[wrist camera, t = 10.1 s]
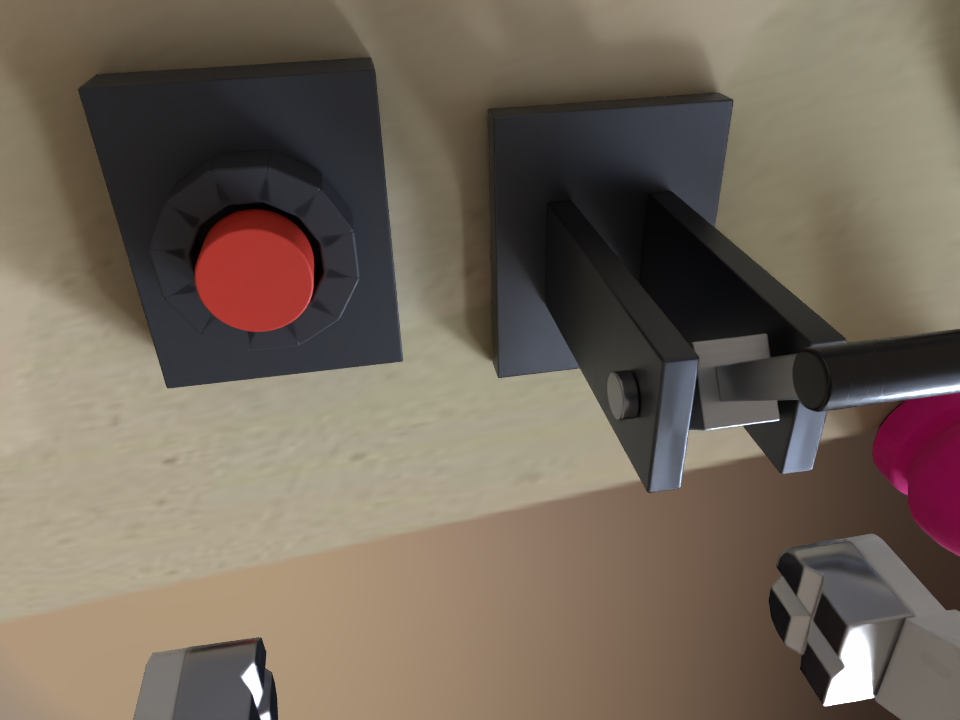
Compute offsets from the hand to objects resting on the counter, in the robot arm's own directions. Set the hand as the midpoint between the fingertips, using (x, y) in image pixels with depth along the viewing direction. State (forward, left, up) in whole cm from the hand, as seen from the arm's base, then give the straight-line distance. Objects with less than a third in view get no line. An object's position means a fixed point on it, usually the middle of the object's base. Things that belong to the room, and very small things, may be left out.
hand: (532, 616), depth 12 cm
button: (+1, -5, -16) cm, 17 cm away
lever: (-1, +8, -6) cm, 10 cm away
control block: (+1, -5, -20) cm, 21 cm away
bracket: (+3, +8, -20) cm, 22 cm away
